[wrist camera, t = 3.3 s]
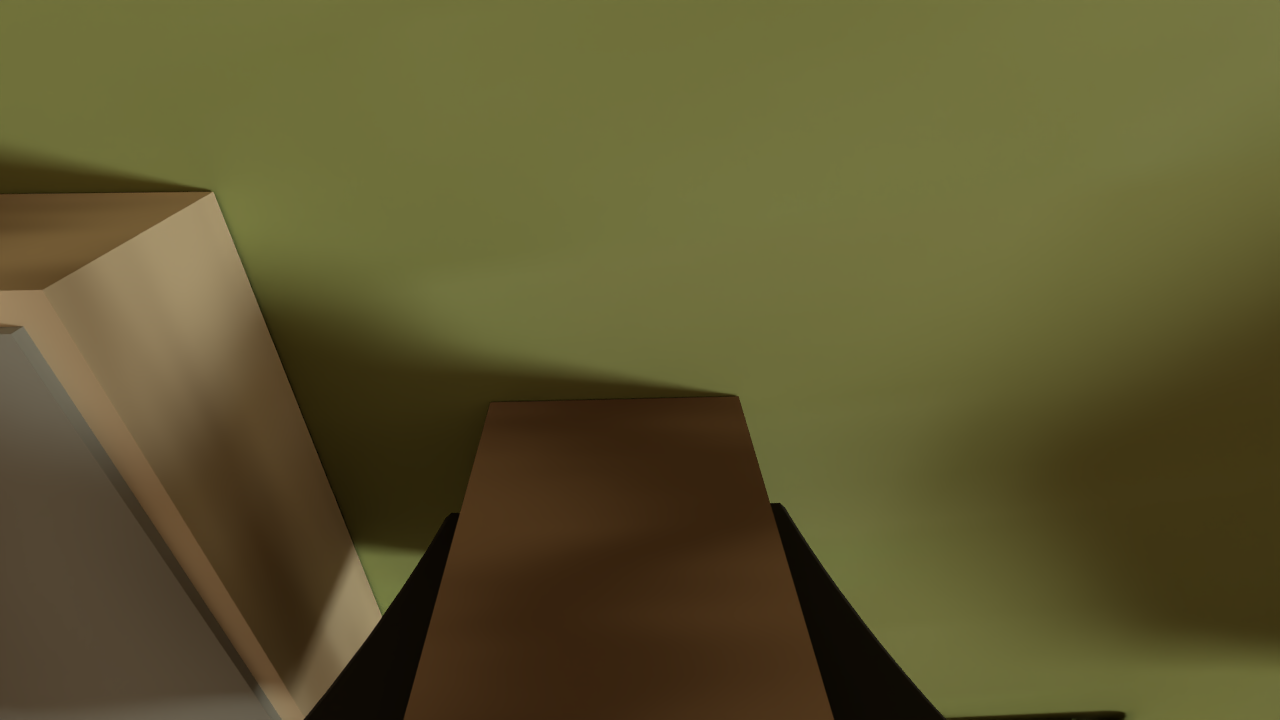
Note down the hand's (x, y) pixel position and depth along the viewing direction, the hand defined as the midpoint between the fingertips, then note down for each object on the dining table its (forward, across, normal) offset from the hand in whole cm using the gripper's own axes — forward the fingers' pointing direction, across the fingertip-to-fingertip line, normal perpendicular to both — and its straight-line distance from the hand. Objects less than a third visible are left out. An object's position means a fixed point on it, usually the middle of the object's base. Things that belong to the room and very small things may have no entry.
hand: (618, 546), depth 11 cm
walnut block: (+1, 0, 0) cm, 1 cm away
